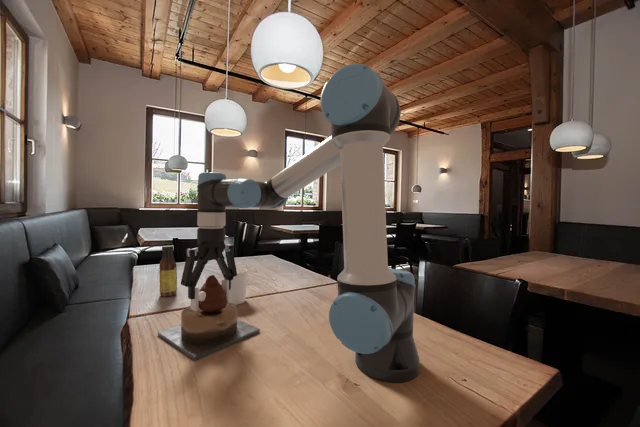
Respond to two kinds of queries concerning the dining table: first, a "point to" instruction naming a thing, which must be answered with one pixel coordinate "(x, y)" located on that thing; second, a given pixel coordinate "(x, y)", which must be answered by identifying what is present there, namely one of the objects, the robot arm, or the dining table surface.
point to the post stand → (207, 331)
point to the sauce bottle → (168, 273)
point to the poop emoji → (212, 295)
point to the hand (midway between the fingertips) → (210, 305)
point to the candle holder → (238, 286)
